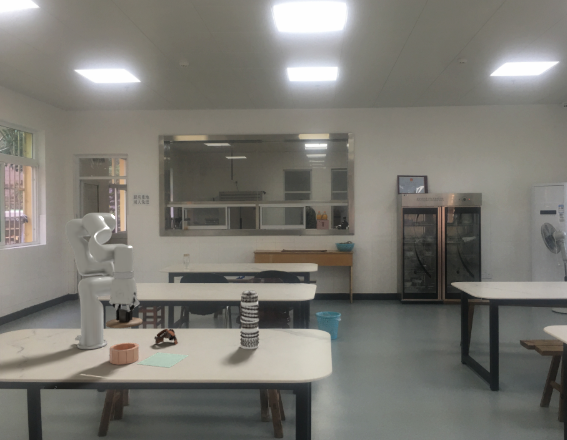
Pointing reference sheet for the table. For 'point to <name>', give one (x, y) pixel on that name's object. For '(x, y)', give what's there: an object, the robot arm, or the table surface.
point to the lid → (123, 321)
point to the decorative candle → (249, 320)
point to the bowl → (124, 353)
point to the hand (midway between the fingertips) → (124, 319)
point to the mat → (163, 359)
